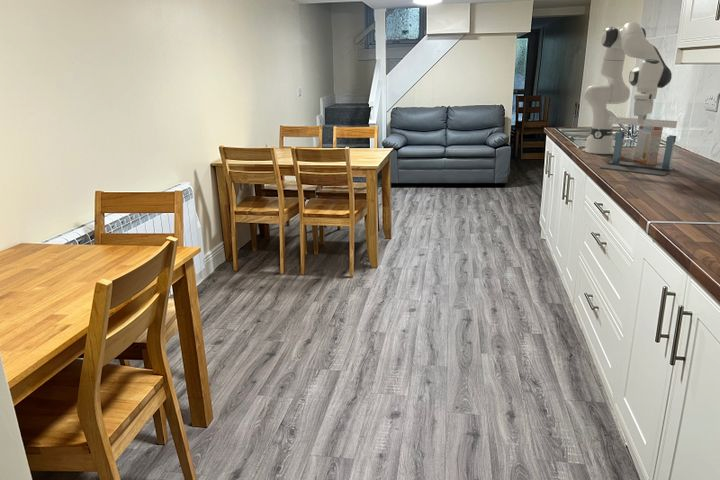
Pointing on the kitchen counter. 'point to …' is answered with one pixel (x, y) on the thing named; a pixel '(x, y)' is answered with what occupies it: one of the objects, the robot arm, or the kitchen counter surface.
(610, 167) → the mat
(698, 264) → the kitchen counter surface
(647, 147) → the cracker box
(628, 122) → the rail
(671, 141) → the rack
